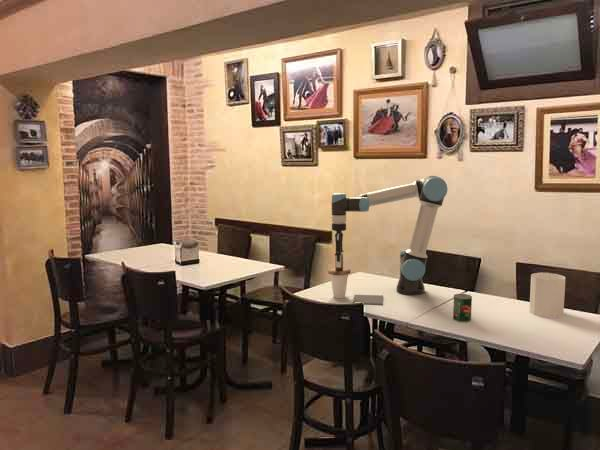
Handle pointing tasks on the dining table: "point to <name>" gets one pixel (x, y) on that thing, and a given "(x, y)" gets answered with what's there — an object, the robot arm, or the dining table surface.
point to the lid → (339, 269)
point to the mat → (369, 299)
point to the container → (547, 295)
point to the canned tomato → (462, 307)
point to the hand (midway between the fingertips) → (339, 265)
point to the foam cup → (339, 285)
